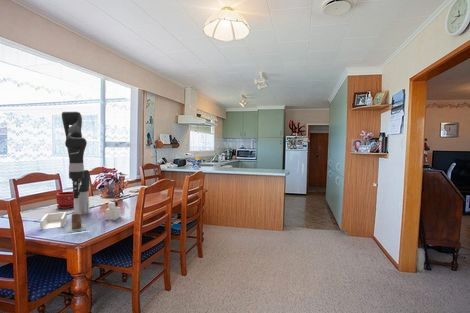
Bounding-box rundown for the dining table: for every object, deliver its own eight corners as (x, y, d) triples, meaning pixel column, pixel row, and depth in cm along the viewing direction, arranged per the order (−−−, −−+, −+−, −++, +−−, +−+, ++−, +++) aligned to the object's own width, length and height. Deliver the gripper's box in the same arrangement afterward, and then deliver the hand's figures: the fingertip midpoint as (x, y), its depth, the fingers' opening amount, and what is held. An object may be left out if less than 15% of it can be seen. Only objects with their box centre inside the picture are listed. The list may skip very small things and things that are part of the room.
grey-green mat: (87, 225, 146) (87, 224, 146) (86, 230, 137) (85, 229, 137) (67, 228, 141) (67, 226, 141) (65, 233, 132) (65, 231, 132)
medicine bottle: (110, 216, 165) (110, 200, 165) (120, 217, 165) (120, 200, 164) (105, 219, 158) (105, 202, 157) (115, 220, 158) (115, 203, 157)
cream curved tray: (67, 220, 155) (67, 211, 155) (64, 228, 141) (64, 218, 141) (45, 223, 149) (44, 214, 149) (39, 231, 135) (38, 221, 135)
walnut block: (81, 226, 142) (81, 211, 142) (80, 228, 138) (80, 213, 138) (72, 227, 140) (72, 212, 140) (71, 229, 136) (71, 214, 136)
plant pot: (60, 210, 177) (60, 195, 176) (53, 207, 184) (53, 193, 184) (79, 207, 188) (79, 192, 187) (72, 204, 195) (72, 190, 194)
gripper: (83, 171, 133) (83, 198, 134) (84, 169, 146) (85, 194, 147) (67, 172, 130) (67, 200, 131) (70, 169, 142) (70, 195, 143)
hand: (76, 196), depth 139 cm, fingers open, 8 cm apart
